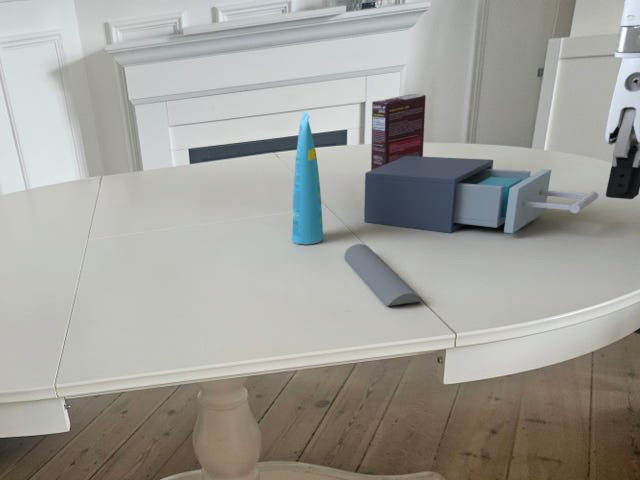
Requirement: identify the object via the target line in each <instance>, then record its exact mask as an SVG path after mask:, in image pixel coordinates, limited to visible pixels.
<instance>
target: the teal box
mask: <svg viewBox="0 0 640 480" xmlns="http://www.w3.org/2000/svg"><path fill="white" fill-rule="evenodd" d="M521 181H522V179H515V178H500V177H490V178H488V179H486V180H484V181H482V182H480V183H478V184H479V185H493V186H504V189H503V197H502V205H501V214H500V217H506V213H507V205H508V197H509V189H510V188H511V187H513V186H514V185H516V184H518V183H520V182H521Z"/></svg>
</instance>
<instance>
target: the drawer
mask: <svg viewBox="0 0 640 480" xmlns="http://www.w3.org/2000/svg"><path fill="white" fill-rule="evenodd" d="M531 173H532V172H531V170H517V169H516V170H515V169H501V168H500V169H498V168H493V169H484V170H482V171H480V172H478V173H476V174H474V175H472V176H470V177H468V178H466V179H464V180H462V181H460V182H458V183H457V190H456V201H455V212H454V223H461V224H465V225H469V226H479V227H487V228H495V229H496V228H498V227H500V226H502V225H503V224H504V229H503V233H505V234H506V233H507V234H514V233H515V232H517V231H519V230H520V229H521V228H523V227H525V226H526V225H527V224H529V223H530V222H532V221H533V220H535V219H536V218H538V217H539V216H542V215H543V214H544V213H545V212H546V209H548V210H549V209H551V210H562V211H570V213H572V214H578V213H580V212H581V211H582V210H583V209H585V208H586V207H588V206H589V205H591V204H592V203H593V202H594V201H596V200H597V199H598V198H599V193H598V192H597V191H591V192H589V193H584V192H583V193H582V192H566V191H557V190H556V191H554V190H549V188H550V181H551V174H552V169H549V168H548V169H546V168H545V169H543V168H542V169H541V170H539V171H537V172H535V173H534V174H532V175H531ZM490 177H500V178H515V179H522V181H521V182H520V183H518V184H516V185H514V186H513V187H511V188H510V189H509V197H508V205H507V213H506V217H500V214H501V205H502V197H503V189H504V186H493V185H479V184H478V183H480V182H482V181H484V180H486V179H488V178H490ZM548 197H557V198H569V199H570V198H571V199H579V200H578V201H576V202H575V203H574V204H565V203H564V204H563V203H552V202H547V200H548Z"/></svg>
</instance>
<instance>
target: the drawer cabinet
mask: <svg viewBox="0 0 640 480" xmlns="http://www.w3.org/2000/svg"><path fill="white" fill-rule="evenodd" d="M484 169H494V159H486V158H485V159H483V158H463V157H462V158H461V157H443V156H442V157H439V156H423V157H420V156H405V157H402V158H400V159H397V160H395V161H393V162H390V163H388V164H385V165H383V166H381V167H378V168H376V169H374V170H371V169H370V170H368V171H366V172H365V174H364V211H363V212H364V216H363V217H364V218H363V221H364V223H370V224H378V225H387V226H393V227H401V228H407V229H416V230H424V231H430V232H431V231H432V232H438V233H439V232H440V233H446V234H451V233H453V232H455V231H456V230H458V229H460V228H462V227H463V226H465V225H466V224H461V223H454V212H455V201H456V190H457V183H458V182H460V181H462V180H464V179H466V178H468V177H470V176H472V175H474V174H476V173H478V172H480V171H482V170H484Z"/></svg>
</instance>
